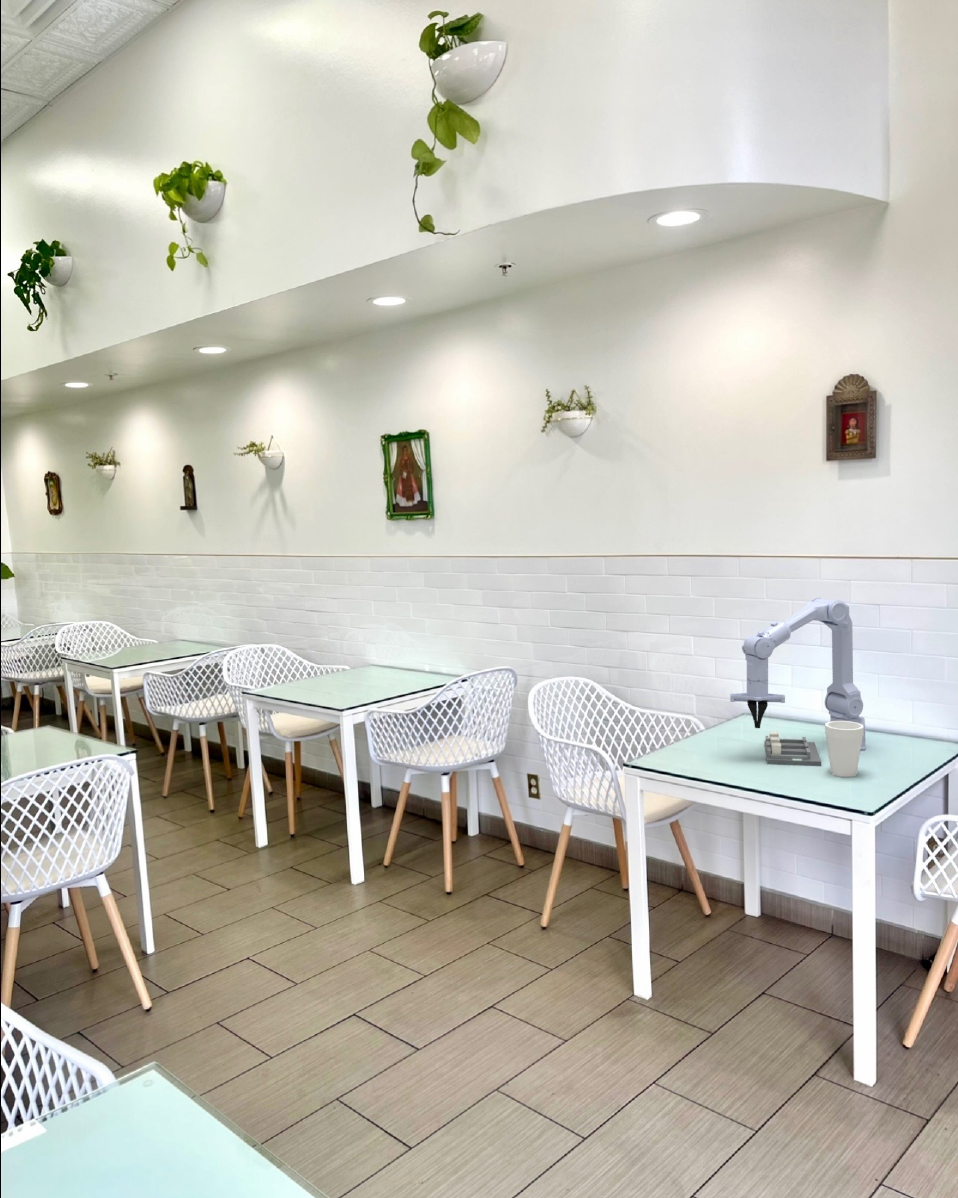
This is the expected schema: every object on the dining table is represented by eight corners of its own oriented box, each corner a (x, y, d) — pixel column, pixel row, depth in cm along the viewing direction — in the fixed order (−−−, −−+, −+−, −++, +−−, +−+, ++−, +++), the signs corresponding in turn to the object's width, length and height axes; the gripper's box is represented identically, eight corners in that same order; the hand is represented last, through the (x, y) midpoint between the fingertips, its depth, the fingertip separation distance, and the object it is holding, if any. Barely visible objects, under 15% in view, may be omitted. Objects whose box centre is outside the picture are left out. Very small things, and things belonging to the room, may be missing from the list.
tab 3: (780, 754, 264) (780, 742, 263) (781, 757, 261) (781, 745, 261) (771, 753, 264) (771, 742, 264) (771, 756, 262) (771, 745, 261)
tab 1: (778, 742, 275) (778, 731, 275) (778, 745, 272) (778, 734, 272) (769, 742, 276) (769, 731, 276) (769, 745, 273) (769, 734, 273)
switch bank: (814, 746, 275) (814, 735, 275) (821, 766, 256) (821, 754, 256) (764, 744, 279) (764, 734, 278) (767, 764, 260) (767, 752, 259)
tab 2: (779, 748, 270) (779, 737, 269) (779, 751, 267) (779, 740, 266) (770, 747, 270) (770, 737, 270) (770, 750, 267) (770, 739, 267)
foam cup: (865, 779, 243) (866, 730, 242) (827, 778, 246) (827, 729, 244) (859, 768, 253) (860, 721, 251) (822, 767, 255) (823, 720, 253)
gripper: (730, 681, 259) (730, 730, 261) (785, 682, 256) (785, 731, 257) (730, 676, 266) (730, 723, 268) (784, 677, 263) (784, 725, 264)
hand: (757, 727), depth 263 cm, fingers closed
